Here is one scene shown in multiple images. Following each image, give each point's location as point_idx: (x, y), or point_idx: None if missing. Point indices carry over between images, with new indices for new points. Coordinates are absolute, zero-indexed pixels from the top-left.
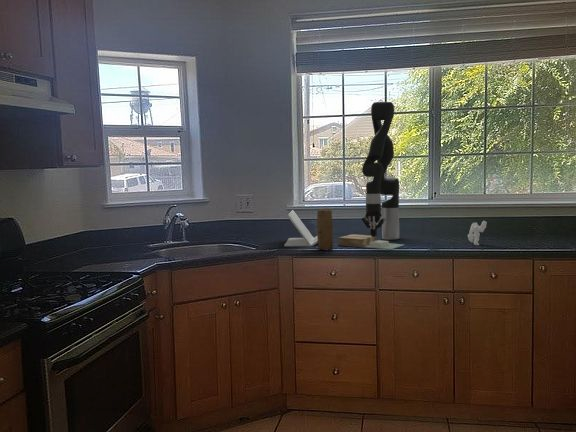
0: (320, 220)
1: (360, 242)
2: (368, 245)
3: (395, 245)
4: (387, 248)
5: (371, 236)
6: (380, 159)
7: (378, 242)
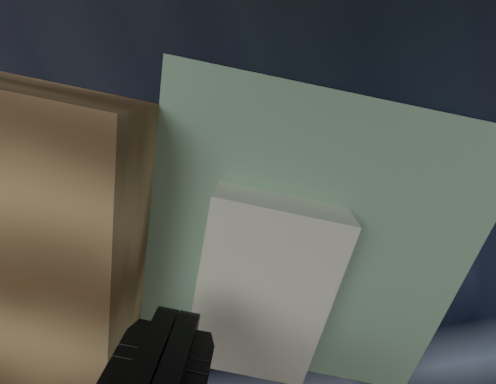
0: None
1: None
2: (160, 283)
3: (429, 221)
4: (372, 374)
5: (90, 198)
6: None
7: (269, 338)
